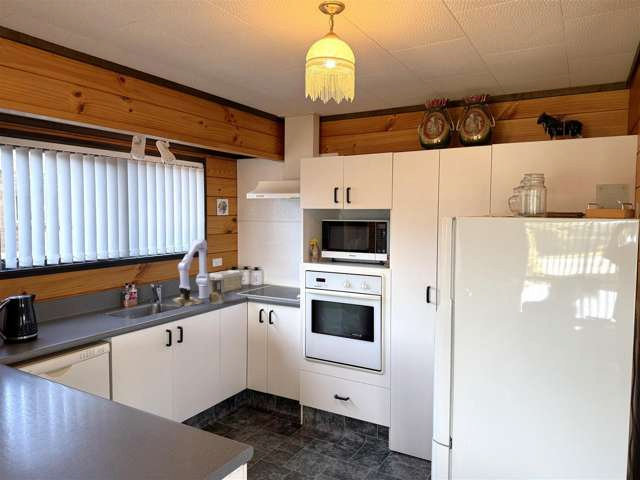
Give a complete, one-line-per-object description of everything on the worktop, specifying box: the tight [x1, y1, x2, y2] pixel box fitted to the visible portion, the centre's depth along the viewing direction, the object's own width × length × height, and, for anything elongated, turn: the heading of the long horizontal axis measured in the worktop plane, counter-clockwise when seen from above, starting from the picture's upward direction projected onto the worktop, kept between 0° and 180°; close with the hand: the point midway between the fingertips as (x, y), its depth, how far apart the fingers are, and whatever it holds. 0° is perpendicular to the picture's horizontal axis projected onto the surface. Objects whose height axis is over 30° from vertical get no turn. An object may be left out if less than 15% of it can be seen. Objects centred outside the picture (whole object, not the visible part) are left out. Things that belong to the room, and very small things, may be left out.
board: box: [172, 296, 204, 307], centre depth 317 cm, size 12×24×2 cm, turn 38°
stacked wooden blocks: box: [177, 293, 195, 306], centre depth 310 cm, size 10×5×7 cm, turn 128°
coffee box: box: [208, 280, 226, 305], centre depth 311 cm, size 9×6×16 cm
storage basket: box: [208, 269, 243, 293], centre depth 362 cm, size 24×16×15 cm
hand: (185, 299), depth 309 cm, fingers closed on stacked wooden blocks, 4 cm apart
